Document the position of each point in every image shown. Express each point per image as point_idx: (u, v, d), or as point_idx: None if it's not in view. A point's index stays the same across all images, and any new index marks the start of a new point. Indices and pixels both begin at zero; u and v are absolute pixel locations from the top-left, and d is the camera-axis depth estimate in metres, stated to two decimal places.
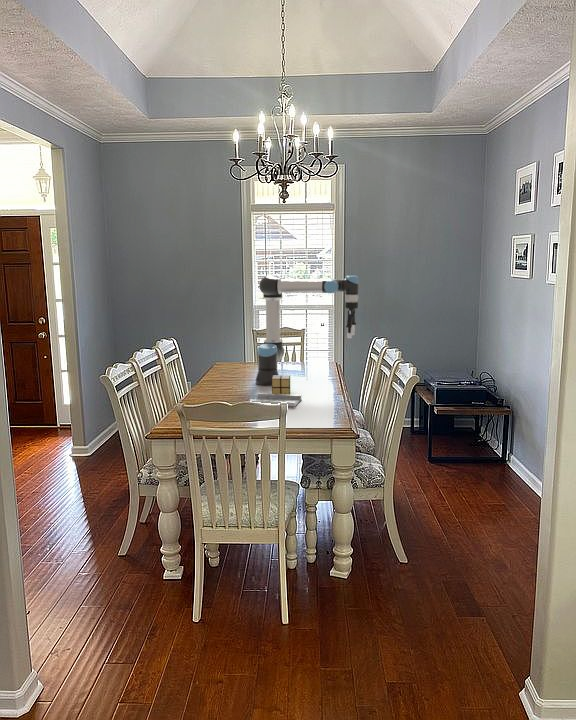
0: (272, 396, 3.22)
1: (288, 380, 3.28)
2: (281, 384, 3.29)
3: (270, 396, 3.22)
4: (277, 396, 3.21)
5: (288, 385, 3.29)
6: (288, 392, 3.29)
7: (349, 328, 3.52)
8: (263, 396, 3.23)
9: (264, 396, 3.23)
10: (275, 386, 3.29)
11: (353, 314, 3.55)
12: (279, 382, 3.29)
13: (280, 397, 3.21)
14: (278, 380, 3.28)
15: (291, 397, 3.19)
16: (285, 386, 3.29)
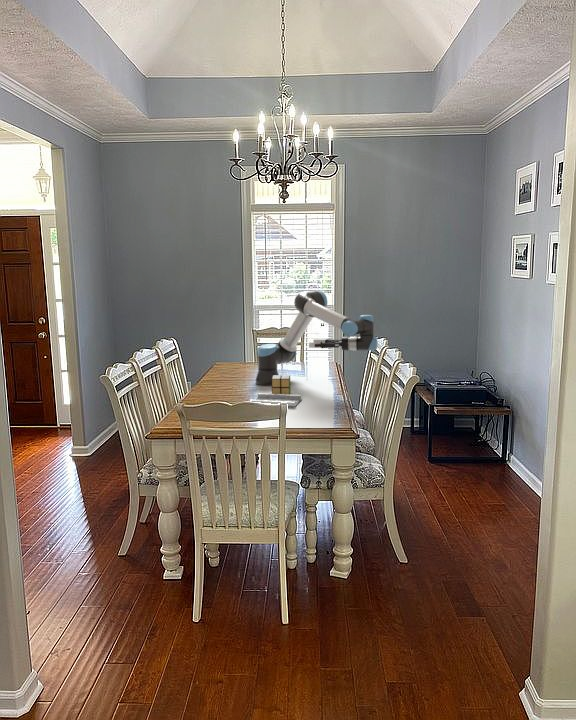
0: (272, 396, 3.22)
1: (288, 380, 3.28)
2: (281, 384, 3.29)
3: (270, 396, 3.22)
4: (277, 396, 3.21)
5: (288, 385, 3.29)
6: (288, 392, 3.29)
7: (319, 345, 3.24)
8: (263, 396, 3.23)
9: (264, 396, 3.23)
10: (275, 386, 3.29)
11: None
12: (279, 382, 3.29)
13: (280, 397, 3.21)
14: (278, 380, 3.28)
15: (291, 397, 3.19)
16: (285, 386, 3.29)
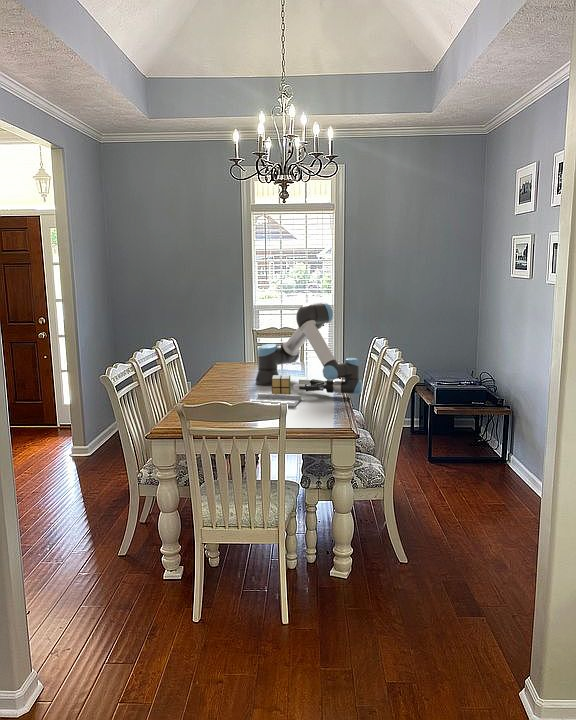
0: (272, 396, 3.22)
1: (288, 380, 3.28)
2: (281, 384, 3.29)
3: (270, 396, 3.22)
4: (277, 396, 3.21)
5: (288, 385, 3.29)
6: (288, 392, 3.29)
7: (303, 388, 3.22)
8: (263, 396, 3.23)
9: (264, 396, 3.23)
10: (275, 386, 3.29)
11: None
12: (279, 382, 3.29)
13: (280, 397, 3.21)
14: (278, 380, 3.28)
15: (291, 397, 3.19)
16: (285, 386, 3.29)
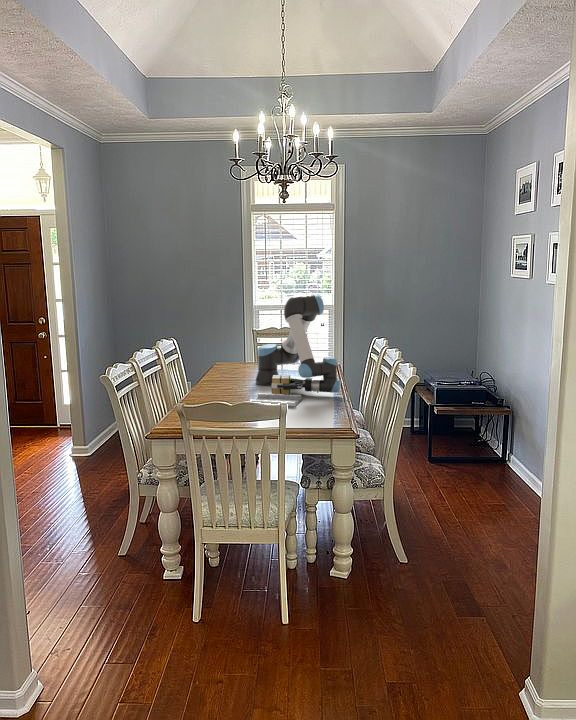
0: (272, 396, 3.22)
1: (288, 380, 3.28)
2: None
3: (270, 396, 3.22)
4: (277, 396, 3.21)
5: None
6: (288, 392, 3.29)
7: (281, 386, 3.26)
8: (263, 396, 3.23)
9: (264, 396, 3.23)
10: None
11: None
12: (279, 382, 3.29)
13: (280, 397, 3.21)
14: (278, 380, 3.28)
15: (291, 397, 3.19)
16: None
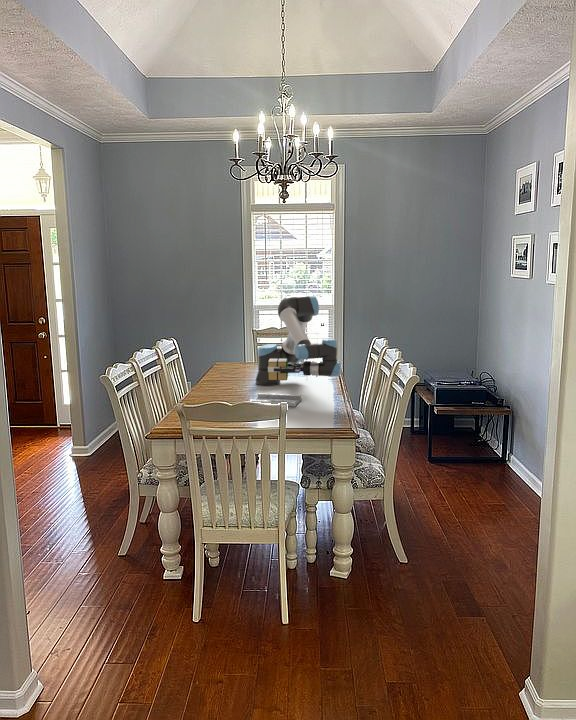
0: (272, 396, 3.22)
1: (285, 363, 3.10)
2: None
3: (270, 396, 3.22)
4: (277, 396, 3.21)
5: None
6: (285, 376, 3.11)
7: (278, 370, 3.08)
8: (263, 396, 3.23)
9: (264, 396, 3.23)
10: None
11: None
12: (276, 365, 3.10)
13: (280, 397, 3.21)
14: (274, 363, 3.10)
15: (291, 397, 3.19)
16: None
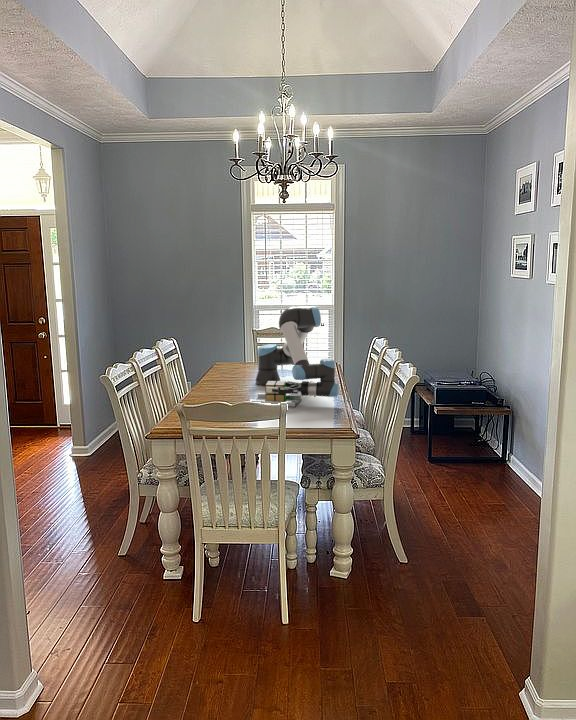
0: None
1: (283, 386, 3.08)
2: None
3: None
4: None
5: None
6: (283, 399, 3.09)
7: (277, 391, 3.05)
8: (263, 396, 3.23)
9: (264, 396, 3.23)
10: (269, 393, 3.09)
11: None
12: None
13: None
14: (272, 386, 3.09)
15: (291, 397, 3.19)
16: None
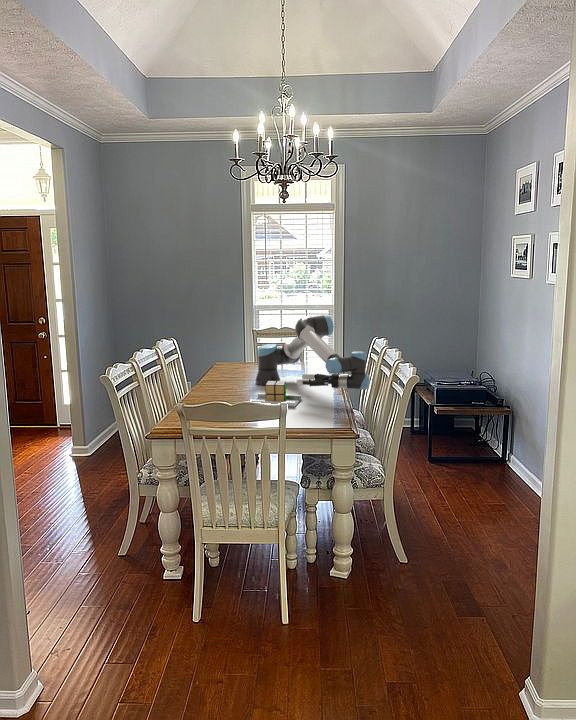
0: None
1: (283, 386, 3.08)
2: (275, 391, 3.09)
3: None
4: None
5: (283, 392, 3.09)
6: (283, 399, 3.09)
7: (307, 383, 3.05)
8: (263, 396, 3.23)
9: (264, 396, 3.23)
10: (269, 393, 3.09)
11: None
12: (273, 388, 3.09)
13: None
14: (272, 386, 3.09)
15: (291, 397, 3.19)
16: (279, 393, 3.09)
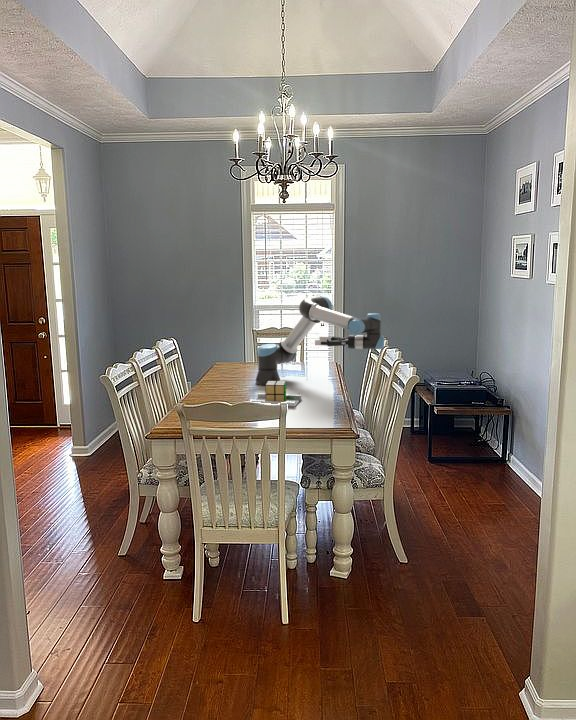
0: None
1: (283, 386, 3.08)
2: (275, 391, 3.09)
3: None
4: None
5: (283, 392, 3.09)
6: (283, 399, 3.09)
7: (325, 343, 3.20)
8: (263, 396, 3.23)
9: (264, 396, 3.23)
10: (269, 393, 3.09)
11: None
12: (273, 388, 3.09)
13: None
14: (272, 386, 3.09)
15: (291, 397, 3.19)
16: (279, 393, 3.09)
